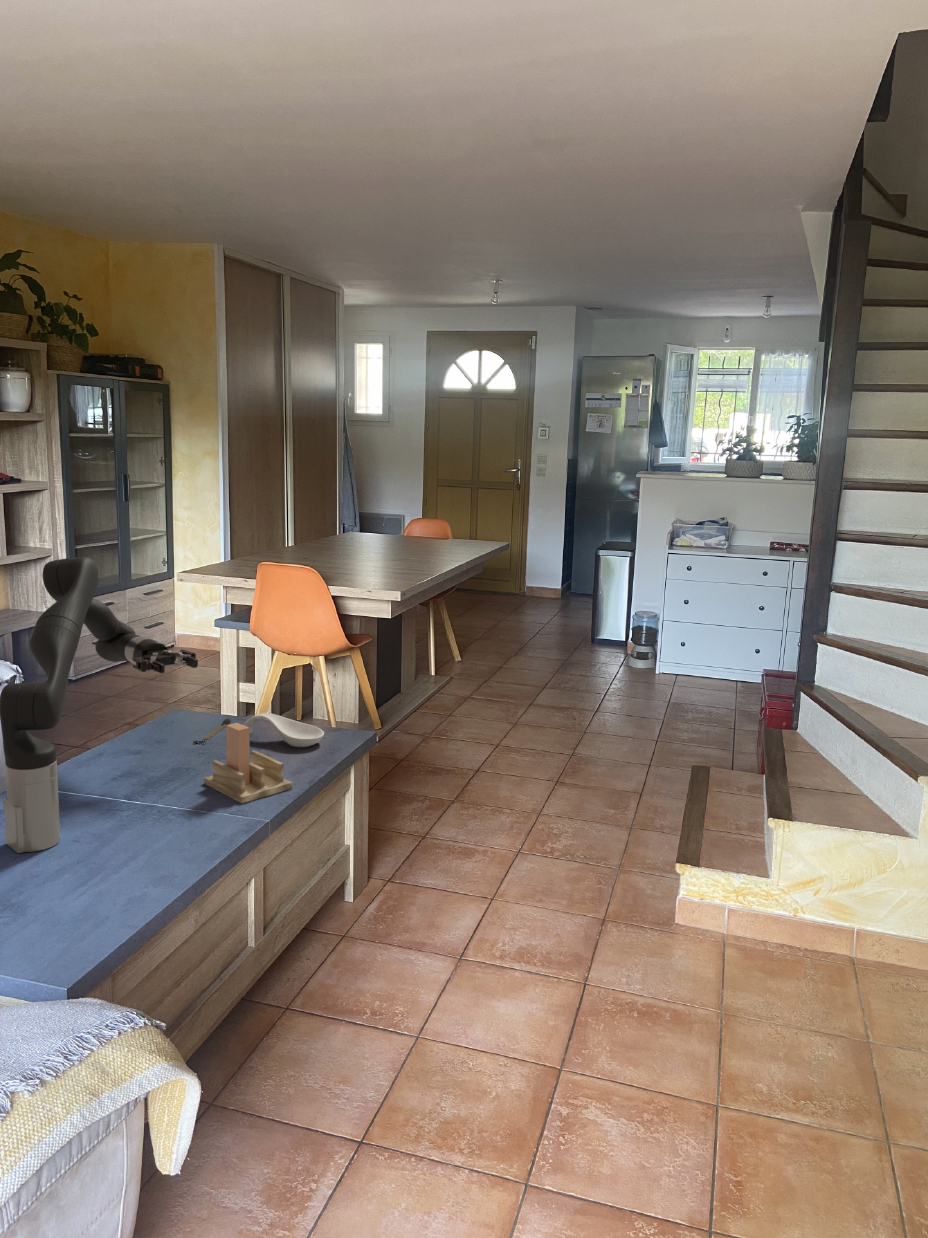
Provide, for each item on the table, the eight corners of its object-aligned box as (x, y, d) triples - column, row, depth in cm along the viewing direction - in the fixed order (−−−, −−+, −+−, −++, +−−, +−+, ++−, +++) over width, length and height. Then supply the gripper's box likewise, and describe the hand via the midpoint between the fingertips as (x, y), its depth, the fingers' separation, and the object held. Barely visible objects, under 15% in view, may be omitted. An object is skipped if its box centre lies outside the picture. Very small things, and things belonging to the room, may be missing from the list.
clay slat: (238, 787, 212) (238, 730, 209) (226, 781, 215) (226, 725, 213) (249, 784, 214) (249, 727, 212) (237, 778, 218) (237, 722, 215)
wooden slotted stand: (241, 803, 207) (241, 778, 206) (204, 783, 217) (204, 759, 216) (292, 788, 217) (292, 764, 216) (253, 769, 228) (253, 747, 226)
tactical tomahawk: (215, 750, 244) (215, 746, 243) (192, 745, 244) (192, 741, 244) (246, 725, 264) (246, 721, 264) (225, 721, 265) (225, 717, 264)
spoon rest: (330, 740, 253) (331, 716, 251) (312, 754, 241) (313, 728, 240) (253, 730, 258) (253, 706, 257) (233, 742, 247) (232, 717, 246)
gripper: (118, 642, 220) (151, 655, 209) (172, 635, 230) (206, 647, 220) (119, 672, 222) (152, 686, 211) (172, 663, 232) (206, 677, 221)
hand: (179, 666), depth 215 cm, fingers open, 8 cm apart
